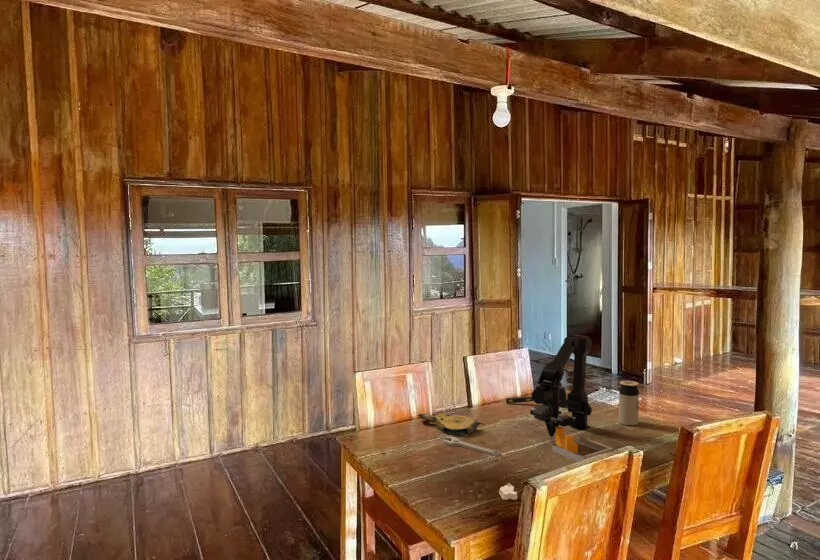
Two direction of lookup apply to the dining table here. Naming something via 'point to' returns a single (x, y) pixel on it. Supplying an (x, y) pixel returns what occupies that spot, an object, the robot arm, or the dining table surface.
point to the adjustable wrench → (469, 446)
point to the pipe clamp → (565, 440)
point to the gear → (508, 492)
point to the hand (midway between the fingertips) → (551, 436)
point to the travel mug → (628, 403)
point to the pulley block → (453, 423)
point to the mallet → (527, 399)
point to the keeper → (582, 441)
